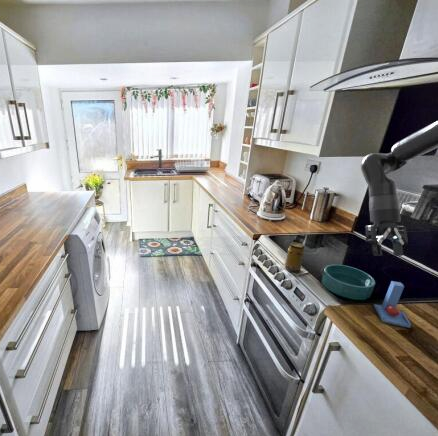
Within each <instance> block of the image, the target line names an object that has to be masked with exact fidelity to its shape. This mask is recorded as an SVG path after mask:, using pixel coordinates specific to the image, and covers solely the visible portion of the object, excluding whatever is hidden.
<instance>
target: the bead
mask: <svg viewBox="0 0 438 436" xmlns="http://www.w3.org/2000/svg"><path fill="white" fill-rule="evenodd" d="M399 310H400V309H399V308H398V307H397V306H396V307H394V306H388V307H387V308H386V312H387V313H388V314H389V315H391V316H398V315H399V314H400V312H401V310H400V311H399Z"/></svg>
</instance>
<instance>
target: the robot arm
mask: <svg viewBox="0 0 438 436" xmlns="http://www.w3.org/2000/svg"><path fill="white" fill-rule="evenodd" d="M437 148H438V120H436V121H434V122H432V123H430V124H428V125H426V126H425V127H423V128H420V129H419V130H417V131H415V132H413V133H411V134H409V135H407V136H406V137H405V138H402V139H401V140H398V141H397V142H395V143H394V144H393V146H392V147H391V149H390V152H388V153H384V152H373V153H372V152H371V153H369V154H367V155H365V156H364V157H363V158H362V161H361V163H360V170H361V173H362V175H363V177H364V181H365V182H366V184H367V186H368V197H369V198H368V200H369V201H368V210H369V221H370V223H371V224H370V225H367V224H366V225H365V242H366V243H367V244H368V243H369V244H370V245H371V248H372V255H373V256H374V257H382V256H383V247H382V243H383V241H384V240H386V239H387V240H388V241H390V242H391V244H392V250H393V256H395V257H402V256H404V250H403V245H404V244H408V242H409V239H408V231H407V227H406V225H398V223H400V222H401V220H402V219H401V208H400V201H399V197H398V190H397V182H396V180H395V179H393V178H391V177H388V176H387V174H391V173H393V172H396V171H398V170H401V169H402V168H403V167H404V166H405V165H407V164H409V163H410V162H411V161H412V160H414V159H416V158H419V157H421V156H423V155H425V154H426V153H430V152H432V151H433V150H435V149H437Z"/></svg>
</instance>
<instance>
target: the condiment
mask: <svg viewBox="0 0 438 436" xmlns="http://www.w3.org/2000/svg"><path fill="white" fill-rule="evenodd" d="M304 255H305V245H304V244H303V243H300V242H296V241H295V242H291V243H290V244H289V247H288V248H287V253H286V257H285V263H284V264H282V265H280V267H281V269H284V270H285V271H287V272H289V273H291V274H292V275H295V276H301V275H304V274H307V273H309V271H308V270H305V269H304V268H302V263H303V260H304V259H303V258H304Z"/></svg>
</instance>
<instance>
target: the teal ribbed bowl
mask: <svg viewBox="0 0 438 436" xmlns="http://www.w3.org/2000/svg"><path fill="white" fill-rule="evenodd" d="M321 284H322V286H324V288H325V289H327V290H328V291H329V292H332V293H333V294H335V295H337V296H340V297H342V298H345V299H349V300H354V301H355V300H356V301H362V300H363V301H365V300H367V299H370V298H371V296H372V294H373V291H374V289H375V287H376V286H375V285H376V280H375V279H374V277H372V276H371V275H370V274H369V273H367V272H365V271H363V270H361V269H358V268H356V267H353V266H349V265H344V264H336V263H335V264H328V265H326V266H325V267H324V270H323V273H322V277H321Z"/></svg>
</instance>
